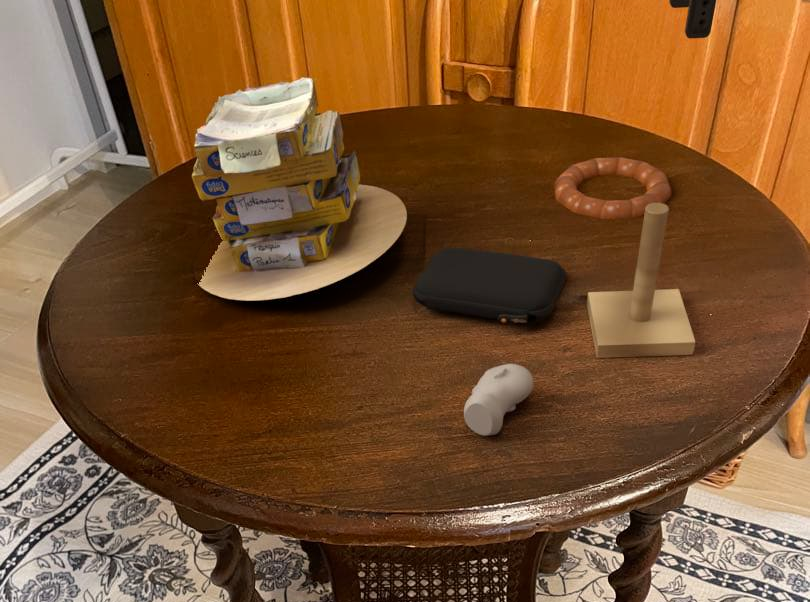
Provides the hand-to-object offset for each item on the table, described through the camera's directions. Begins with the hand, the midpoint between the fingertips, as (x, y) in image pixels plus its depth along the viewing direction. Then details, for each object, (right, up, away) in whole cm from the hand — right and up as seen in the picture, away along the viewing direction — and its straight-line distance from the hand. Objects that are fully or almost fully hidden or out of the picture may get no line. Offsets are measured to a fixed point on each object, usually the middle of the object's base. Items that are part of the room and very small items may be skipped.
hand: (688, 21), depth 82 cm
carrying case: (-19, -25, +7) cm, 32 cm away
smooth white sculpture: (-19, -38, -5) cm, 43 cm away
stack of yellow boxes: (-39, -17, +16) cm, 46 cm away
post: (-4, -29, +2) cm, 29 cm away
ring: (-3, -9, +18) cm, 21 cm away
